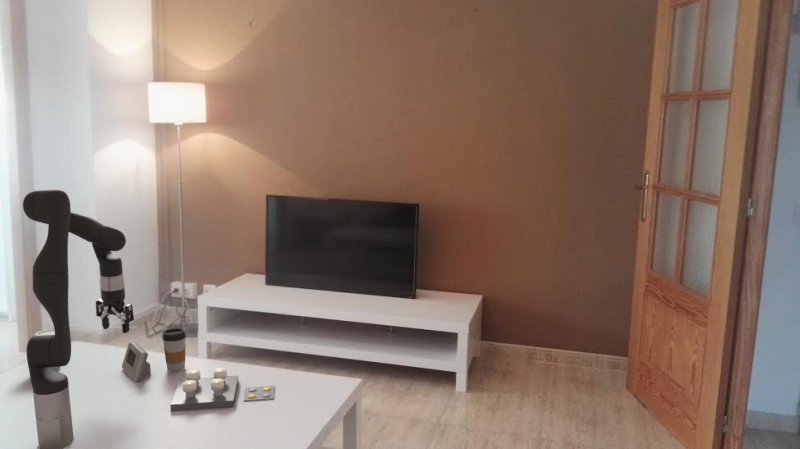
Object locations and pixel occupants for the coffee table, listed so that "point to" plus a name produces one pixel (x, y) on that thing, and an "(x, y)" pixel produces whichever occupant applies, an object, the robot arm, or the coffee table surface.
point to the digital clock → (136, 361)
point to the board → (205, 395)
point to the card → (259, 393)
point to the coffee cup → (174, 349)
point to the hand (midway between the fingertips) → (116, 330)
